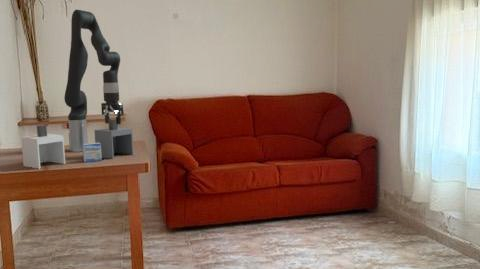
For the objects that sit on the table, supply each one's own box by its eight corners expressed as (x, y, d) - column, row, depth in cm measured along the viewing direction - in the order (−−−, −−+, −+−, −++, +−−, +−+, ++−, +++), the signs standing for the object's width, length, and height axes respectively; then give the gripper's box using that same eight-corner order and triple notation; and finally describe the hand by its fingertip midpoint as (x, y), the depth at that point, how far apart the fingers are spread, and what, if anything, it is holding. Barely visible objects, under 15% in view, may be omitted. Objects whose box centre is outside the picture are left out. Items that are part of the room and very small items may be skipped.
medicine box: (85, 162, 222) (83, 144, 221) (83, 161, 226) (82, 143, 225) (102, 160, 225) (100, 143, 224) (100, 159, 229) (99, 142, 228)
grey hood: (23, 165, 217) (20, 126, 214) (49, 161, 227) (46, 123, 225) (39, 169, 209) (35, 127, 207) (65, 163, 220) (62, 124, 217)
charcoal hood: (96, 156, 237) (93, 120, 235) (116, 152, 248) (114, 117, 245) (112, 158, 230) (110, 121, 227) (133, 154, 240) (131, 118, 238)
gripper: (96, 91, 235) (98, 123, 238) (114, 92, 227) (116, 125, 229) (108, 91, 241) (110, 122, 244) (126, 91, 233) (128, 123, 235)
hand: (113, 123), depth 236 cm, fingers open, 8 cm apart
